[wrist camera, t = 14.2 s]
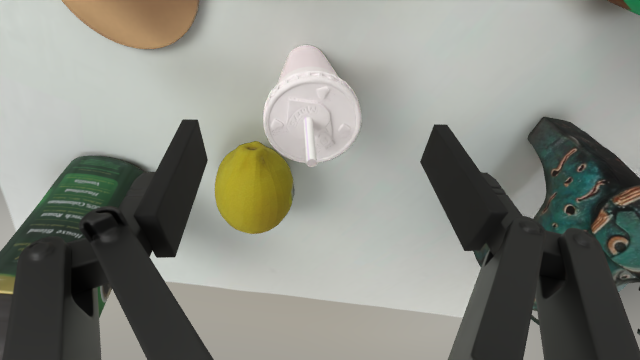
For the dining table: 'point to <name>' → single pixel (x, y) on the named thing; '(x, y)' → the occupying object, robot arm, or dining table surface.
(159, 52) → the dining table surface
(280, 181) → the lemon
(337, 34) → the dining table surface
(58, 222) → the coffee jar
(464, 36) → the dining table surface
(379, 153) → the dining table surface
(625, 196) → the ceramic cat
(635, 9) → the food container
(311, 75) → the white drink cup
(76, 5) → the cork coaster
